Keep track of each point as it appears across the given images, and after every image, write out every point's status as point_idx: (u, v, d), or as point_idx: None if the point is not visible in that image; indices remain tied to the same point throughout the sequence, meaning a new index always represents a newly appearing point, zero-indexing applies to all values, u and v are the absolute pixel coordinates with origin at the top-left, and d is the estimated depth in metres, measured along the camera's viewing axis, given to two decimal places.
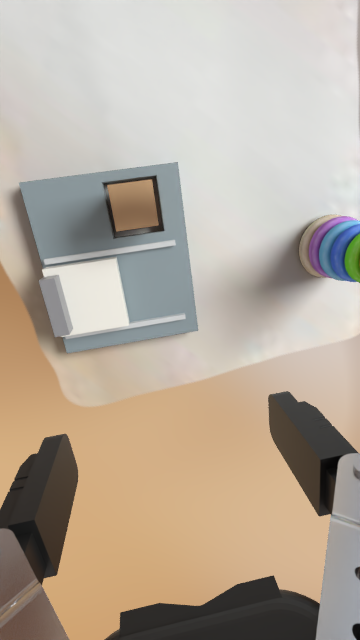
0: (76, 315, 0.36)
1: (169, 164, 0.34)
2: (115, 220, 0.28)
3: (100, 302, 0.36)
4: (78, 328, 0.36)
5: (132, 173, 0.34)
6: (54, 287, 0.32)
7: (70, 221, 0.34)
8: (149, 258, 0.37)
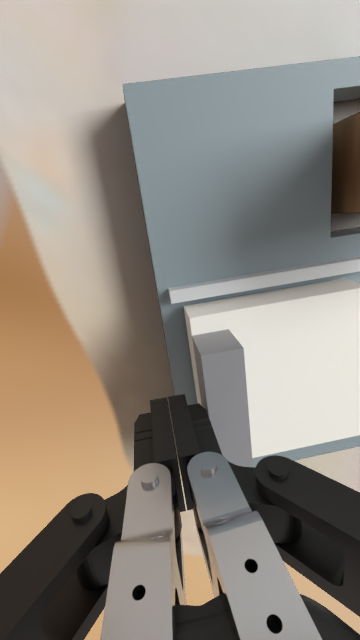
0: (252, 420, 0.15)
1: None
2: None
3: (311, 389, 0.15)
4: (252, 446, 0.15)
5: None
6: (239, 371, 0.12)
7: (240, 194, 0.14)
8: None
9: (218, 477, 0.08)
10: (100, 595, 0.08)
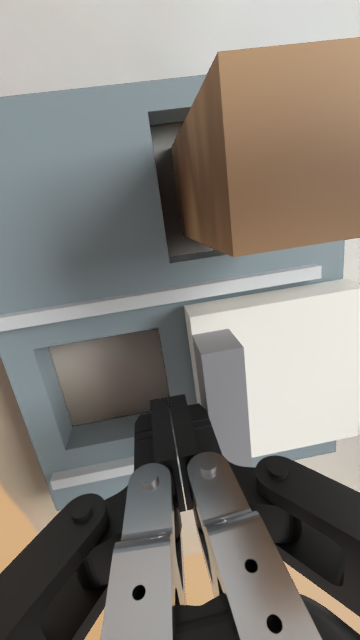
0: (251, 420, 0.15)
1: None
2: (235, 213, 0.07)
3: (310, 389, 0.15)
4: (251, 446, 0.15)
5: None
6: (239, 370, 0.12)
7: (61, 220, 0.13)
8: None
9: (218, 477, 0.08)
10: (100, 595, 0.08)
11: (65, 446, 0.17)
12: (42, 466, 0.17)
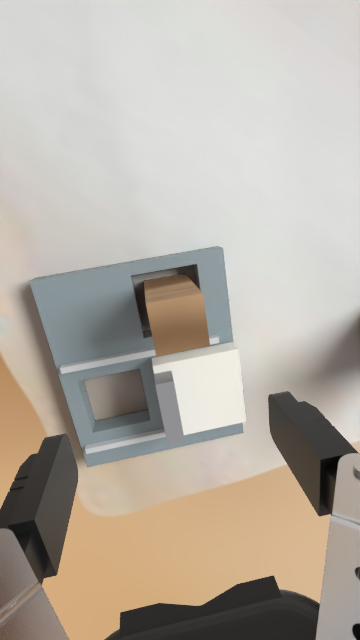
0: (187, 414, 0.30)
1: (212, 251, 0.28)
2: (155, 343, 0.22)
3: (216, 398, 0.30)
4: (188, 428, 0.30)
5: (167, 263, 0.27)
6: (172, 391, 0.27)
7: (92, 321, 0.28)
8: None
9: None
10: None
11: (92, 431, 0.32)
12: (80, 441, 0.32)
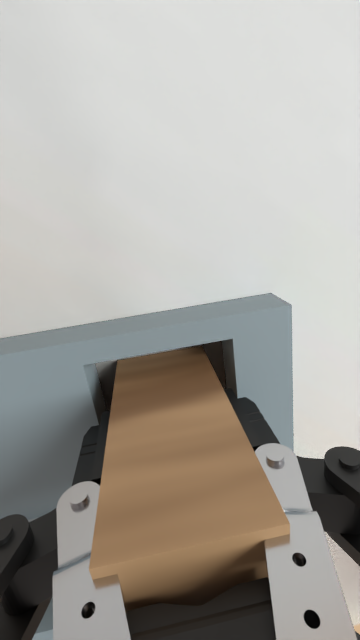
0: None
1: (269, 311, 0.12)
2: None
3: None
4: None
5: (168, 339, 0.12)
6: None
7: (0, 458, 0.13)
8: None
9: (288, 468, 0.08)
10: (32, 615, 0.08)
11: None
12: None
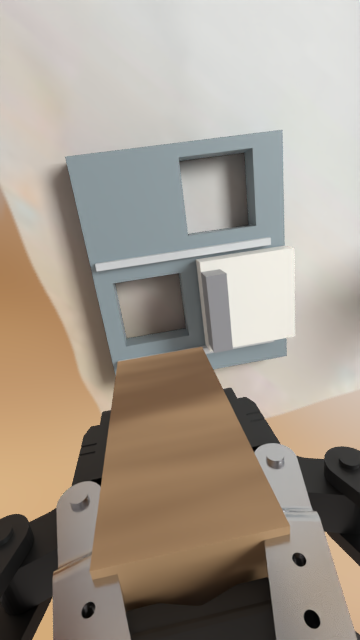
0: (233, 323, 0.27)
1: (271, 132, 0.24)
2: None
3: (265, 306, 0.27)
4: (233, 340, 0.28)
5: (220, 145, 0.24)
6: (224, 285, 0.24)
7: (132, 212, 0.25)
8: None
9: (288, 467, 0.08)
10: (32, 615, 0.08)
11: (125, 345, 0.29)
12: (112, 356, 0.29)
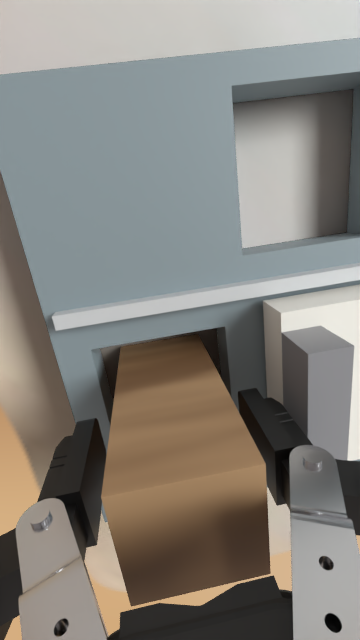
0: None
1: None
2: (129, 581, 0.08)
3: None
4: None
5: (323, 59, 0.11)
6: (346, 371, 0.10)
7: (130, 207, 0.12)
8: None
9: (327, 470, 0.08)
10: None
11: None
12: None
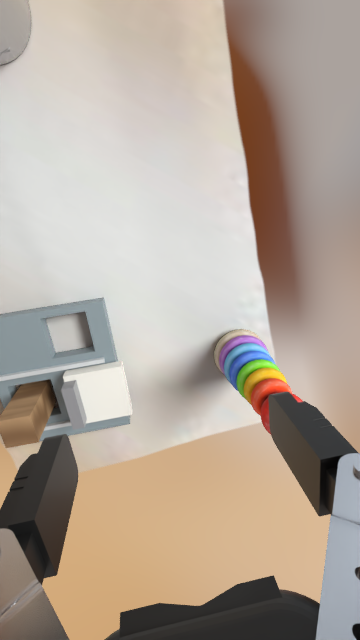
0: (89, 408, 0.44)
1: (95, 303, 0.42)
2: (4, 441, 0.39)
3: (109, 398, 0.44)
4: (91, 418, 0.45)
5: (64, 311, 0.41)
6: (73, 393, 0.41)
7: (15, 348, 0.42)
8: None
9: None
10: None
11: None
12: None
